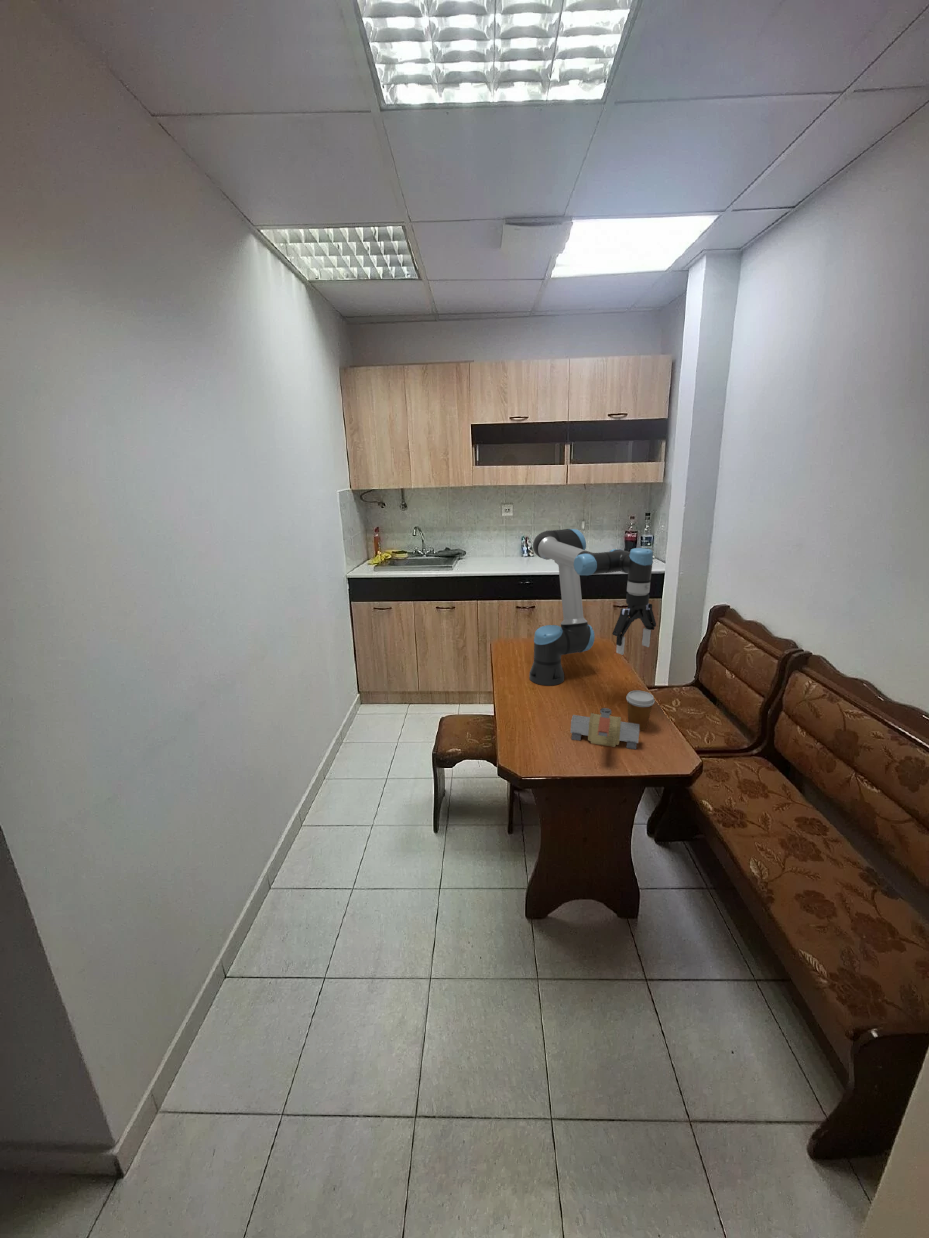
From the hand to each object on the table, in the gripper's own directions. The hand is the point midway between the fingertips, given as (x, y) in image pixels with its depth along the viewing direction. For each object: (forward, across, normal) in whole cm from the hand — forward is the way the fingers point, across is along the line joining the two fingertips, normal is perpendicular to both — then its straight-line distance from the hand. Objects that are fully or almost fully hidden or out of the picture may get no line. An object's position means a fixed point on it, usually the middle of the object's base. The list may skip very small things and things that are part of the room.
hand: (632, 649), depth 176 cm
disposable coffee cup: (+26, -5, -9) cm, 28 cm away
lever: (+16, -27, -13) cm, 34 cm away
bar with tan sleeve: (+26, -22, -9) cm, 35 cm away
